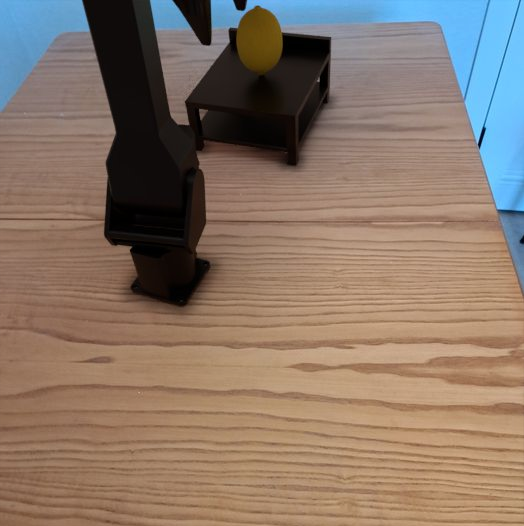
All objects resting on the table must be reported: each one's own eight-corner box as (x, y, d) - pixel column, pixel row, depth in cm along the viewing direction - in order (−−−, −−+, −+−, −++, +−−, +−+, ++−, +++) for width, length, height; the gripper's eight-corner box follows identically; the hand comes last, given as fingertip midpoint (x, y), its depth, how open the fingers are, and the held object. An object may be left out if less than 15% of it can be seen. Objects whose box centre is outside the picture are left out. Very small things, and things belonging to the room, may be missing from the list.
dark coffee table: (296, 166, 71) (295, 102, 65) (193, 150, 75) (182, 88, 68) (329, 98, 80) (331, 36, 74) (236, 87, 84) (230, 27, 77)
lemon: (232, 71, 73) (225, 3, 67) (272, 59, 74) (268, -9, 68) (250, 90, 70) (245, 21, 63) (291, 78, 71) (289, 9, 65)
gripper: (240, -110, 48) (254, 76, 60) (319, -168, 58) (317, 1, 70) (127, -117, 51) (162, 60, 63) (220, -171, 61) (235, -9, 73)
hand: (224, 26), depth 67 cm, fingers open, 9 cm apart
